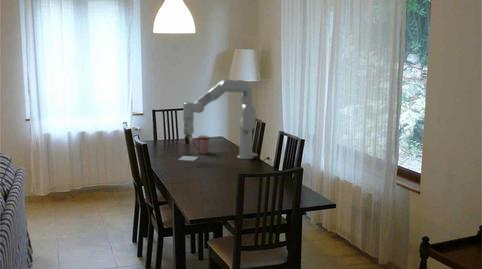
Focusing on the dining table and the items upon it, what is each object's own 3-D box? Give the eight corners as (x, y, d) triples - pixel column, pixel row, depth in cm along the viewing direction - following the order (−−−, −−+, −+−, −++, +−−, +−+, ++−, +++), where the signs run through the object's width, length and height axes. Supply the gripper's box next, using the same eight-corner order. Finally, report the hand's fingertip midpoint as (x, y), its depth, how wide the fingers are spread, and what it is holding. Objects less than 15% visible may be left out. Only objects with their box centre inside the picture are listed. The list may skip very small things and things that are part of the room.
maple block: (192, 143, 391) (192, 136, 390) (190, 144, 386) (190, 137, 385) (186, 142, 392) (186, 136, 391) (183, 143, 387) (183, 137, 386)
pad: (198, 157, 396) (198, 156, 395) (193, 161, 384) (193, 160, 384) (183, 156, 398) (183, 155, 398) (178, 160, 387) (178, 159, 387)
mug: (209, 151, 418) (209, 135, 415) (209, 154, 409) (209, 137, 406) (193, 151, 416) (193, 135, 414) (193, 154, 407) (193, 137, 405)
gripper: (189, 121, 376) (189, 145, 380) (196, 117, 393) (196, 141, 396) (179, 120, 378) (179, 144, 381) (187, 117, 394) (187, 140, 398)
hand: (188, 142), depth 389 cm, fingers closed on maple block, 5 cm apart
